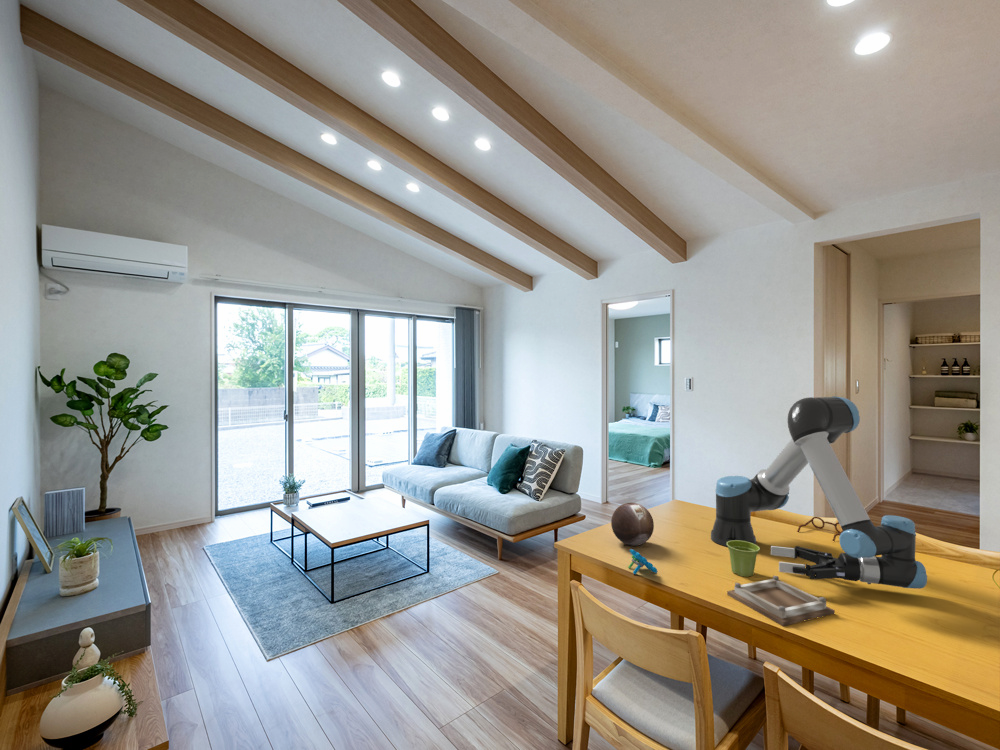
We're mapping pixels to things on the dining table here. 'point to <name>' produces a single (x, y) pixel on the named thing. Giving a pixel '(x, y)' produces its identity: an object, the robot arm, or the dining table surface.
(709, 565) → the dining table surface
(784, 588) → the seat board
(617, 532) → the wooden sphere
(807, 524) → the glasses
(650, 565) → the blue plastic toy
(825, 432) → the robot arm
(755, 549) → the plant pot
